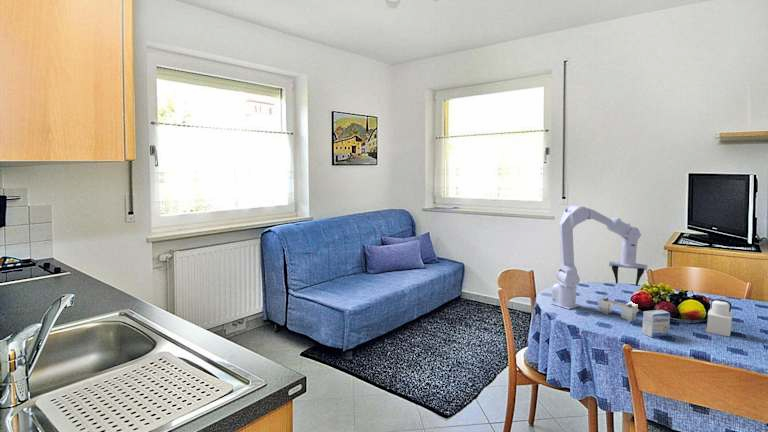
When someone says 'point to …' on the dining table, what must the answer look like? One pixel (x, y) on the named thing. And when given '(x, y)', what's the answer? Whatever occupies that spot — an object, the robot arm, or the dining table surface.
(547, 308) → the dining table surface
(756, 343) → the dining table surface
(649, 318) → the medicine box
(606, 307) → the bearing block
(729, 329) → the medicine bottle
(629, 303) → the cream rectangular bar
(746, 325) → the dining table surface
